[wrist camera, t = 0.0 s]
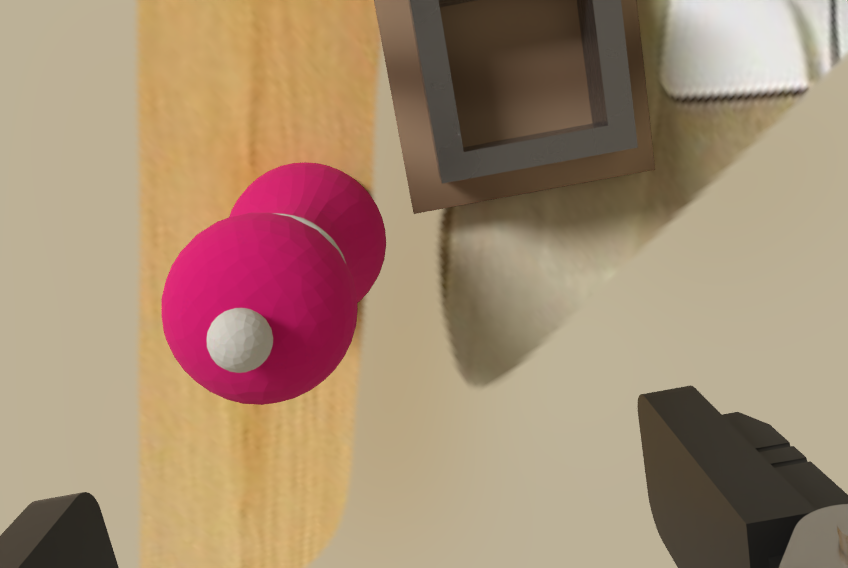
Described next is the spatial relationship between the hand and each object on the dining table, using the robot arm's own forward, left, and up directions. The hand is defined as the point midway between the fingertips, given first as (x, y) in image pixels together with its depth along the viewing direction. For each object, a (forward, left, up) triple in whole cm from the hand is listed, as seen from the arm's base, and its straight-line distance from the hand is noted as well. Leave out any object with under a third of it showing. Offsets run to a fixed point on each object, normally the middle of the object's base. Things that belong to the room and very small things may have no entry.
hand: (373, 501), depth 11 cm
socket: (-6, +7, -28) cm, 29 cm away
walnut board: (-6, +7, -29) cm, 31 cm away
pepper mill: (0, -4, -30) cm, 30 cm away
